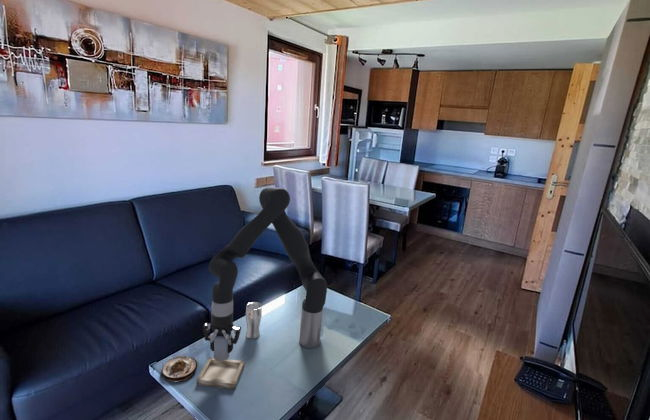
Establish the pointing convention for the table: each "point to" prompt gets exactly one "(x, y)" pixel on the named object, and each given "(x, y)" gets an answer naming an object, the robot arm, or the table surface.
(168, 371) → the stuffed round slice
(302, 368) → the table surface
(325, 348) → the table surface
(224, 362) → the birch tray
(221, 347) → the grey rounded cylinder
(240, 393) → the table surface
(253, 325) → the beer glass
